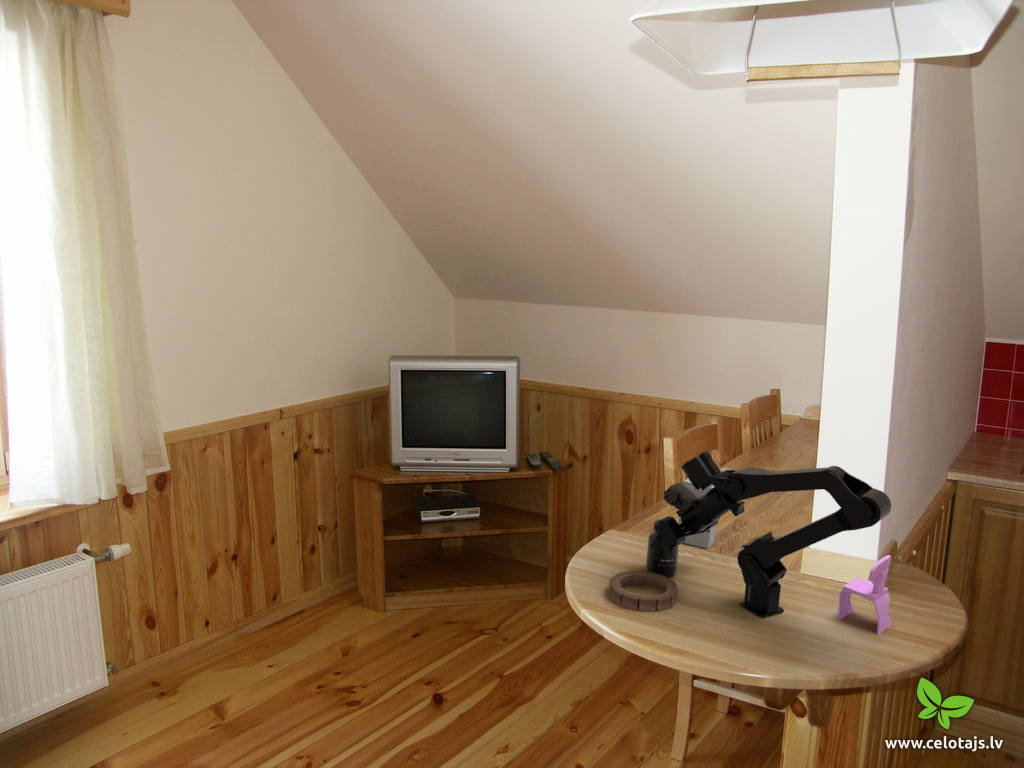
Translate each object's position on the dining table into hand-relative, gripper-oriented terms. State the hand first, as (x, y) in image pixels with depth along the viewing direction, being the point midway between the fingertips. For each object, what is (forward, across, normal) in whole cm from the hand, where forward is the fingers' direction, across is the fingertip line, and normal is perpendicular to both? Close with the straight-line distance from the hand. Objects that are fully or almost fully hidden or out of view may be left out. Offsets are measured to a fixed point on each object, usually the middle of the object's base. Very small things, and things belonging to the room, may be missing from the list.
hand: (662, 541), depth 184 cm
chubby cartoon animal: (+15, -61, -5) cm, 63 cm away
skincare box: (+8, -23, +3) cm, 24 cm away
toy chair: (-24, -10, +35) cm, 43 cm away
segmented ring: (+3, +13, +8) cm, 15 cm away
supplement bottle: (+5, 0, +6) cm, 8 cm away
